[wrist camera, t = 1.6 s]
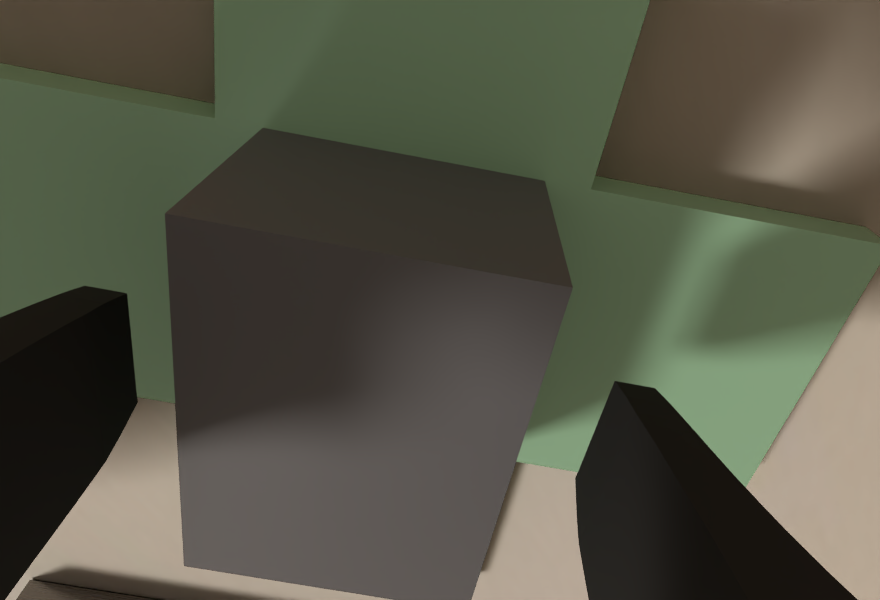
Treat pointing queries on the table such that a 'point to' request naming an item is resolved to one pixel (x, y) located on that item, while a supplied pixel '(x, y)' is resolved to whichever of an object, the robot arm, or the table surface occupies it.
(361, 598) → the table surface
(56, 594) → the chassis
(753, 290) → the board
